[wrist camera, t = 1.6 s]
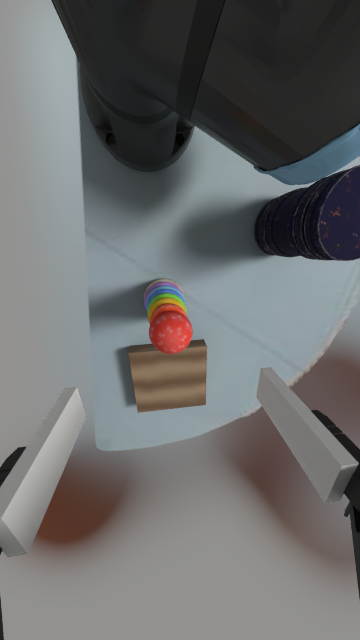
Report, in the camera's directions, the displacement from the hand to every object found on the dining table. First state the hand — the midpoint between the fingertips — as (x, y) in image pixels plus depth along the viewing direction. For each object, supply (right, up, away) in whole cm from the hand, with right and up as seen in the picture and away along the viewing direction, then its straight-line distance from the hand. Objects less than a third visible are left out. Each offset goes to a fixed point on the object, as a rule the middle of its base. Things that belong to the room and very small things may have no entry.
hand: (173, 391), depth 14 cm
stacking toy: (-3, +10, +24) cm, 26 cm away
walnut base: (-2, -7, +30) cm, 31 cm away
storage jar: (+19, +22, +21) cm, 36 cm away
